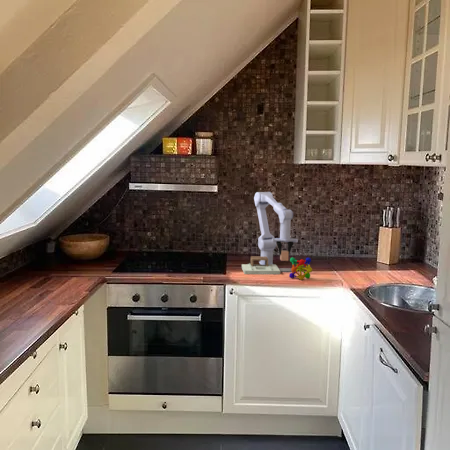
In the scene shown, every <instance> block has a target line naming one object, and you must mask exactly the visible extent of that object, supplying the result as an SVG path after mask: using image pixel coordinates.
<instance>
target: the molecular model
mask: <svg viewBox="0 0 450 450" xmlns="http://www.w3.org/2000/svg"><path fill="white" fill-rule="evenodd" d="M289 262H290V263H292V267H291V271H292V272H289V278H290V279H294V278H298V280H300V281H304V279H309V278H311V273H312V272H313V268H312V267H311V262H312V258H311V257H306V258H305V260H304V259H302V258H301V259H300V260H298V259H296V258H295V257H293V256H292V257H290V259H289ZM295 265H296V266H295ZM305 270H306V271H305ZM298 271H299V272H298ZM302 273H303V274H302Z"/></svg>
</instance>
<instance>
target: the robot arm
mask: <svg viewBox="0 0 450 450" xmlns="http://www.w3.org/2000/svg"><path fill="white" fill-rule="evenodd" d="M253 200H254V205H255V207H256V212H257V213H256V214H257V217H258V223H259V230H260V234H261V235H260V236H259V237H258V238H257V240H258V241H257V246H258V248H259V250H260V256H261V257H267V258H268V263H269V265H275V264H274V263H273V260H274V251H275V249H276V247H277V248H278V254H279V256H280V255H281V250H282V248H283V247H282V246H283V245H282V243H287V251H288V252H289V255H290V253H291V250H292V248H293V246H294V243H298V241H299V239H298V238H293V237H291V226H292V225H291V222H292V221H291V220H293V218H294V212H293V210H292V209H287V207H285V206H284V205H283V203H282V202H278V201H277V200H276V199H275V197H274V195H273V193H272V192H271V191H256V192H255V194H254V197H253ZM269 205H271V206H272V207H273V211H274V212H275V213H276V214H277V215H278V219H279V223H280V224H279V225H280V226H279V230H280V231H279V237H276V238H275V236H274V235H273V234H271V232H270V225H269V221H268V216H267V210H266V208H267V207H268V206H269ZM258 263H259V264H265V260H259V261H258Z"/></svg>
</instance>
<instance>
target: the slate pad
mask: <svg viewBox="0 0 450 450" xmlns="http://www.w3.org/2000/svg"><path fill="white" fill-rule="evenodd" d="M278 268H279V270H280V273H292V271H291V268H292V267H291V268H290V267H288V268H287V267H283V268H282V267H281V268H280V267H278Z"/></svg>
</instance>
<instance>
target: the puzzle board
mask: <svg viewBox="0 0 450 450" xmlns="http://www.w3.org/2000/svg"><path fill="white" fill-rule="evenodd" d="M279 268H280V267H278V265H277V264H274V265H269V263H268V266H266V265H265V264H260V263H259V264H258V263H256V264H254V263H253V266H251V264H250V262H249V263H247V264H243V263H242V264H241V269H242V272H243V274H244V275H281V271H280V270H279Z"/></svg>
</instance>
